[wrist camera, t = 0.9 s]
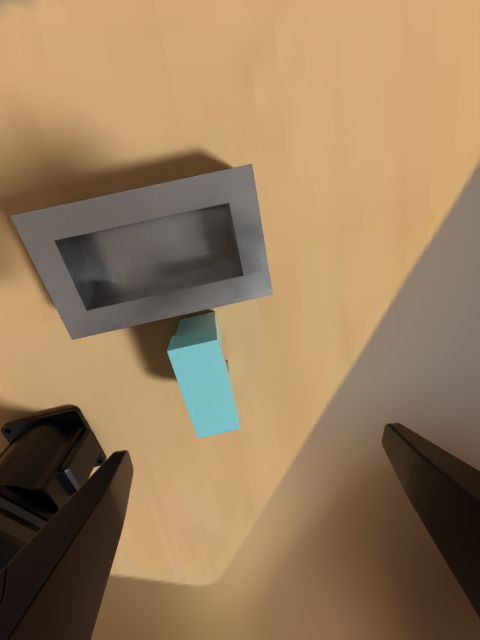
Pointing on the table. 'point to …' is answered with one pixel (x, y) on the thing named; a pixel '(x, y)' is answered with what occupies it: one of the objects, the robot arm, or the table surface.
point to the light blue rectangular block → (204, 375)
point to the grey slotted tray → (150, 251)
